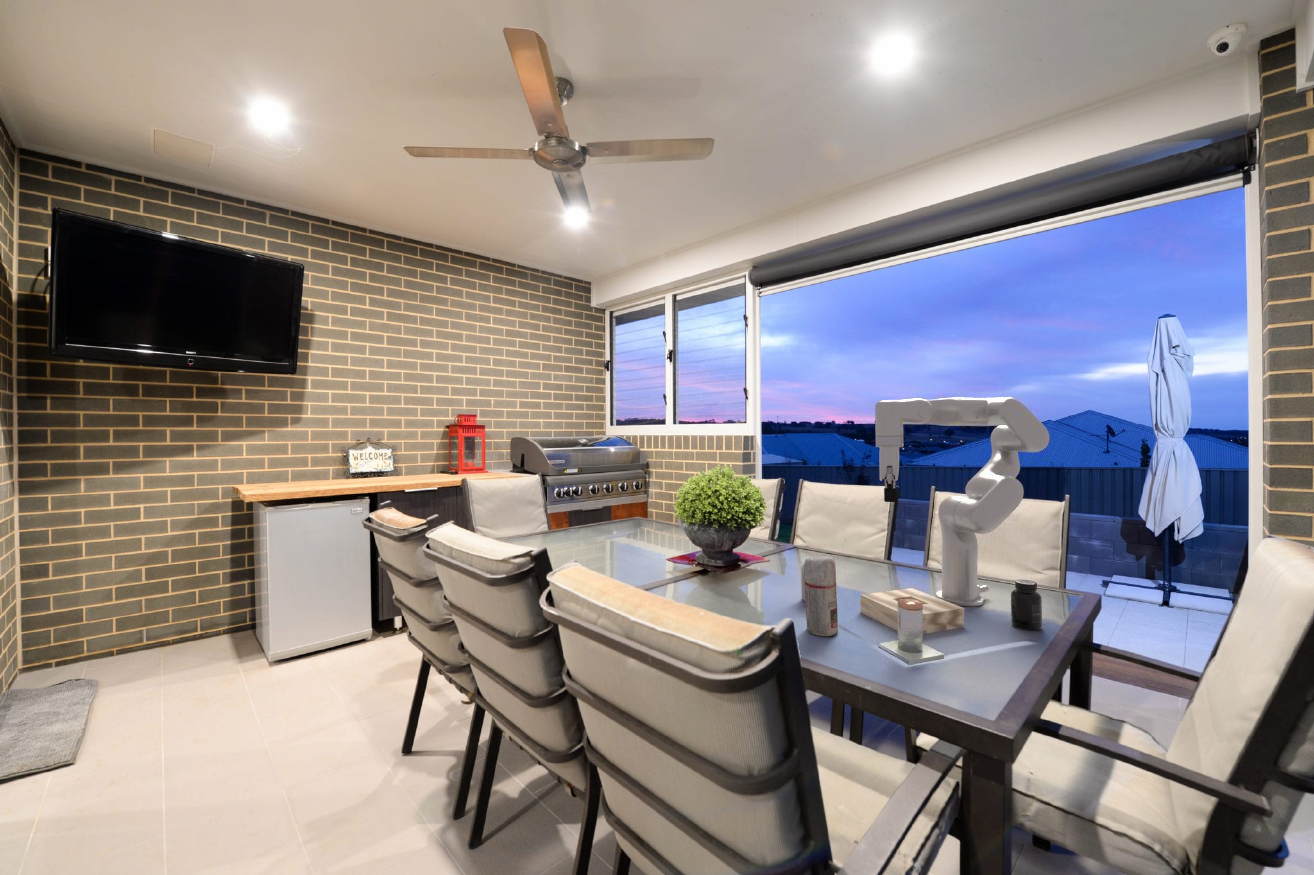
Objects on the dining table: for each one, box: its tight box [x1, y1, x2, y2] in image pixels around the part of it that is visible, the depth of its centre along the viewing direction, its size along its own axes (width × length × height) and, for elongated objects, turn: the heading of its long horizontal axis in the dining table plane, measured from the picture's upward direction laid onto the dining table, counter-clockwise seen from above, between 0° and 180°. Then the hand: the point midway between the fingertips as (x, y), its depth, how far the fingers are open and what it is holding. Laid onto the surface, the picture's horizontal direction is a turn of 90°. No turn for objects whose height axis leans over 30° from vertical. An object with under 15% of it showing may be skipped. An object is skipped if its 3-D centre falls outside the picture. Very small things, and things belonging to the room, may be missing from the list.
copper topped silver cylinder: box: [897, 599, 924, 653], centre depth 126 cm, size 5×5×11 cm
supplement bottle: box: [1010, 579, 1043, 632], centre depth 142 cm, size 7×7×12 cm
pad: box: [877, 639, 945, 666], centre depth 126 cm, size 10×10×1 cm
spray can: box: [804, 554, 839, 637], centre depth 140 cm, size 8×8×20 cm
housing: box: [859, 587, 965, 635], centre depth 145 cm, size 18×18×6 cm
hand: (890, 499), depth 158 cm, fingers open, 9 cm apart
